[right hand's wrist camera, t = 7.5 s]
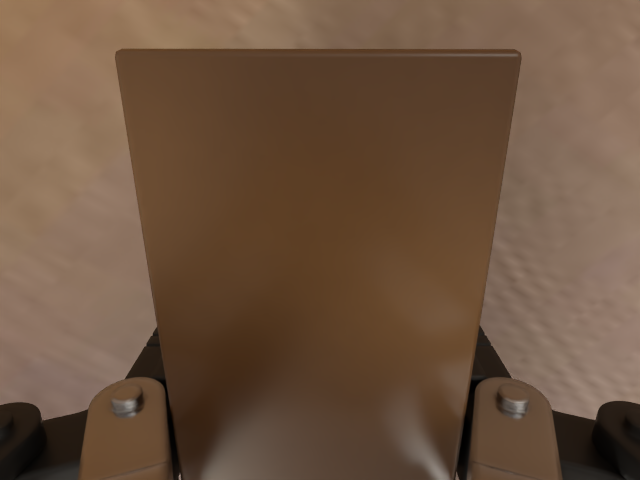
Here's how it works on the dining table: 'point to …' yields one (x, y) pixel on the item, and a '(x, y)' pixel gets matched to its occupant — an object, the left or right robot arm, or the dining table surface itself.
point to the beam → (318, 250)
